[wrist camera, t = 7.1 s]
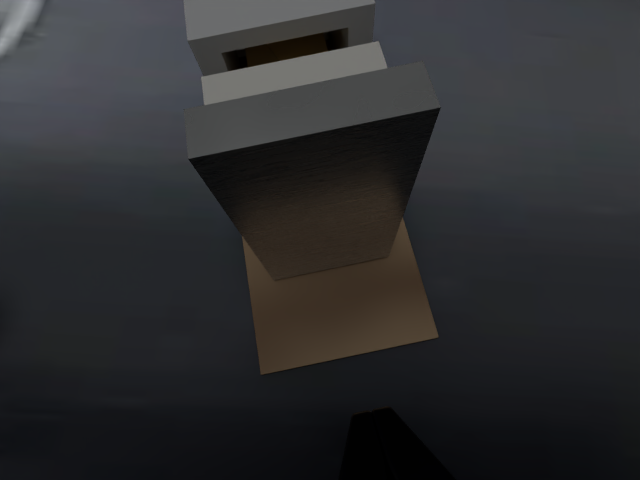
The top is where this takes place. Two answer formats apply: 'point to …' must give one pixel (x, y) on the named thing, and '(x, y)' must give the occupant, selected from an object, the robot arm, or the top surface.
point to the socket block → (270, 26)
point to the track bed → (338, 307)
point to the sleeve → (292, 72)
